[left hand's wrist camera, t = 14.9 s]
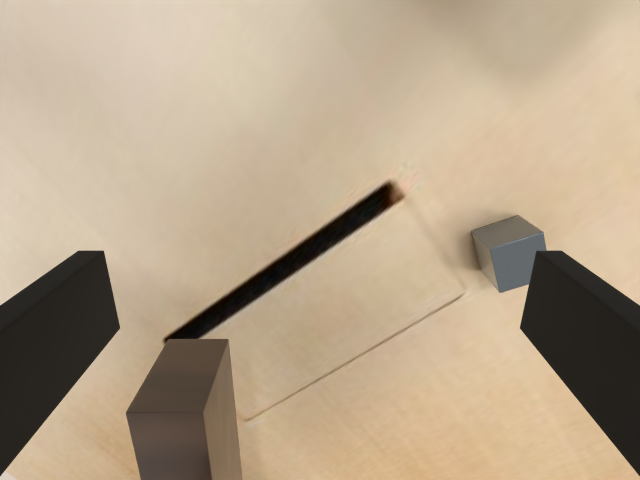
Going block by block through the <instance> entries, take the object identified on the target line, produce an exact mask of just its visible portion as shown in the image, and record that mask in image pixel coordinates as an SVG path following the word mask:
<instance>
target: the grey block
mask: <svg viewBox="0 0 640 480" xmlns="http://www.w3.org/2000/svg"><path fill="white" fill-rule="evenodd" d="M471 232H472V236H473V240H474V244H475V248H476V253H477V257H478V261H479V265H480V269H481V271H482V273H483V274H484V275H485V276H486V277H487V278H488V280H489V281H490V282H491V283H492V284H493V286H494V287H495V288H496V289H497V290H498V291H499V293H502V292H505V291H508V290H511V289H515V288H518V287H521V286H525V285H528V284H529V283H530V278H531V273H532V269H533V264H534V259H535V254H536V251H546V245H545V239H544V233H543V231H541V230H540V229H538V228H537V227H535V226H534V225H532V224H531V223H529V222H528V221H526V220H525V219H523V218H522V217H520V216H515V217H512V218H509V219H506V220H503V221H500V222H497V223H494V224H491V225H487V226H484V227H481V228H478V229H475V230H472V231H471Z"/></svg>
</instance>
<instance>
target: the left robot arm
mask: <svg viewBox="0 0 640 480" xmlns="http://www.w3.org/2000/svg"><path fill="white" fill-rule="evenodd" d="M119 329H120V325H119V321H118V316H117V311H116V307H115V302H114V297H113V292H112V288H111V283H110V278H109V273H108V269H107V264H106V259H105V254H104V251H77V252H76V253H75V254H73V255H72V256H70V257H69V258H67V259H66V260H65V261H63V262H62V263H60V264H59V265H57V266H56V267H55V268H53V269H52V270H50V271H49V272H48V273H46V274H45V275H43V276H42V277H40V278H39V279H38V280H36V281H35V282H33V283H32V284H30V285H29V286H28V287H26V288H25V289H23V290H22V291H20V292H19V293H18V294H16V295H15V296H13V297H12V298H10V299H9V300H8V301H6V302H5V303H3V304H2V305H0V476H1V474H2V473H3V472H4V471H5V470H6V468H7V467H8V466H9V465H10V463H11V462H12V461H13V460H14V459H15V457H16V456H17V455H18V454H19V452H20V451H21V450H22V449H23V447H24V446H25V445H26V444H27V442H28V441H29V440H30V439H31V438H32V436H33V435H34V434H35V433H36V431H37V430H38V429H39V428H40V426H41V425H42V424H43V423H44V421H45V420H46V419H47V418H48V417H49V415H50V414H51V413H52V412H53V410H54V409H55V408H56V407H57V405H58V404H59V403H60V402H61V400H62V399H63V398H64V397H65V396H66V394H67V393H68V392H69V391H70V389H71V388H72V387H73V386H74V384H75V383H76V382H77V381H78V379H79V378H80V377H81V376H82V375H83V373H84V372H85V371H86V370H87V368H88V367H89V366H90V365H91V363H92V362H93V361H94V360H95V359H96V357H97V356H98V355H99V354H100V352H101V351H102V350H103V349H104V347H105V346H106V345H107V344H108V342H109V341H110V340H111V339H112V338H113V336H114V335H115V334H116V333H117V331H118V330H119ZM520 329H521V330H522V331H523V333H524V334H525V335H526V336H527V338H528V339H529V340H530V341H531V342H532V344H533V345H534V346H535V347H536V349H537V350H538V351H539V352H540V354H541V355H542V356H543V357H544V359H545V360H546V361H547V362H548V363H549V365H550V366H551V367H552V368H553V370H554V371H555V372H556V373H557V375H558V376H559V377H560V378H561V380H562V381H563V382H564V383H565V384H566V386H567V387H568V388H569V389H570V391H571V392H572V393H573V394H574V396H575V397H576V398H577V399H578V400H579V402H580V403H581V404H582V405H583V407H584V408H585V409H586V410H587V412H588V413H589V414H590V415H591V417H592V418H593V419H594V420H595V421H596V423H597V424H598V425H599V426H600V428H601V429H602V430H603V431H604V433H605V434H606V435H607V436H608V438H609V439H610V440H611V441H612V442H613V444H614V445H615V446H616V447H617V449H618V450H619V451H620V452H621V454H622V455H623V456H624V457H625V459H626V460H627V461H628V462H629V463H630V465H631V466H632V467H633V468H634V470H635V471H636V472H637V473H638V475H639V476H640V305H638V304H637V303H635V302H634V301H632V300H631V299H630V298H628V297H627V296H625V295H624V294H622V293H621V292H620V291H618V290H617V289H615V288H614V287H612V286H611V285H610V284H608V283H607V282H605V281H604V280H602V279H601V278H600V277H598V276H597V275H595V274H594V273H592V272H591V271H590V270H588V269H587V268H585V267H584V266H583V265H581V264H580V263H578V262H577V261H575V260H574V259H573V258H571V257H570V256H568V255H567V254H565V253H564V252H563V251H536V254H535V259H534V264H533V269H532V273H531V278H530V283H529V288H528V292H527V297H526V302H525V307H524V311H523V316H522V321H521V325H520Z"/></svg>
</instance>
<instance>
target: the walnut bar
mask: <svg viewBox="0 0 640 480" xmlns="http://www.w3.org/2000/svg"><path fill="white" fill-rule="evenodd" d="M126 416H127V420H128V424H129V429H130V433H131V438H132V442H133V446H134V451H135V455H136V459H137V464H138V468H139V473H140V477H141V480H242V471H241V461H240V451H239V441H238V431H237V421H236V410H235V400H234V390H233V380H232V370H231V360H230V350H229V340H228V339H168V341H167V343H166V344H165V346H164V348H163V349H162V351H161V353H160V355H159V356H158V358H157V360H156V362H155V363H154V365H153V367H152V368H151V370H150V372H149V374H148V375H147V377H146V379H145V381H144V382H143V384H142V386H141V387H140V389H139V391H138V393H137V394H136V396H135V398H134V400H133V401H132V403H131V405H130V406H129V408H128V410H127V412H126Z"/></svg>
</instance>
